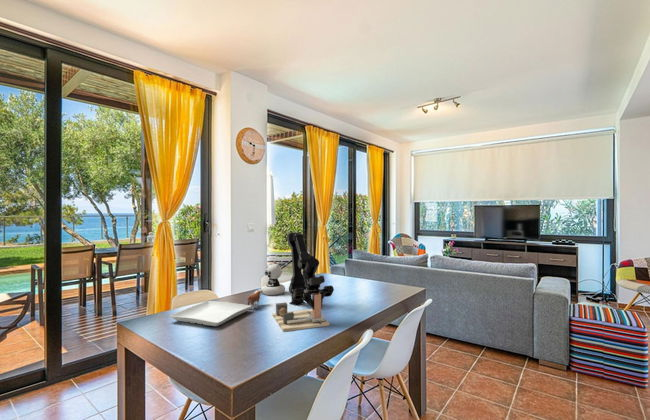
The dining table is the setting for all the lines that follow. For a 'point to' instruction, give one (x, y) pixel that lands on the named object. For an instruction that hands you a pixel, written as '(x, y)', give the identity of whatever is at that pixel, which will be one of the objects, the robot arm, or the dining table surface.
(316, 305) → the slider
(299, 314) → the press base
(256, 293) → the bull figurine
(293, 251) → the robot arm
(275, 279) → the decorative figurine
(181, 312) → the square plate
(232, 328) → the dining table surface
